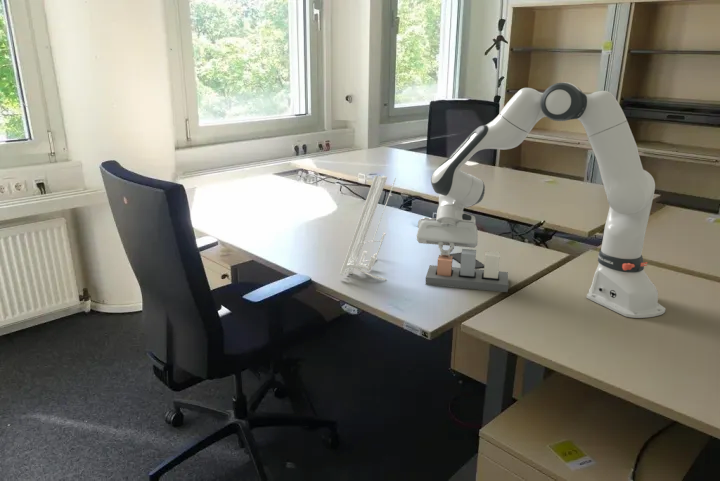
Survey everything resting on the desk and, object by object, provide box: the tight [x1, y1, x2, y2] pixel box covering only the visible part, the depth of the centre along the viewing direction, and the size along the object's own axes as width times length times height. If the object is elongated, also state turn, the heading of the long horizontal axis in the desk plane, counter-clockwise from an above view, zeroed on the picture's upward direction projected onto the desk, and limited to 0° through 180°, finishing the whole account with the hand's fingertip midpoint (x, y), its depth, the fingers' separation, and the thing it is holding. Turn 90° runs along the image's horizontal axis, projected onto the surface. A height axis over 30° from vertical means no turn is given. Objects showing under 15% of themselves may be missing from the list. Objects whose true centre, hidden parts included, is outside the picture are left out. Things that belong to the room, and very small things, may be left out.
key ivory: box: [483, 250, 501, 279], centre depth 172 cm, size 4×4×8 cm
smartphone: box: [450, 251, 485, 269], centre depth 194 cm, size 7×1×15 cm
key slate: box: [459, 248, 477, 276], centre depth 174 cm, size 4×4×8 cm
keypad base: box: [425, 264, 509, 293], centre depth 175 cm, size 26×11×2 cm, turn 76°
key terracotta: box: [436, 254, 454, 276], centre depth 176 cm, size 4×4×8 cm
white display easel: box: [339, 175, 397, 281], centre depth 180 cm, size 24×14×35 cm, turn 148°
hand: (445, 256), depth 175 cm, fingers closed, pressing on key terracotta
